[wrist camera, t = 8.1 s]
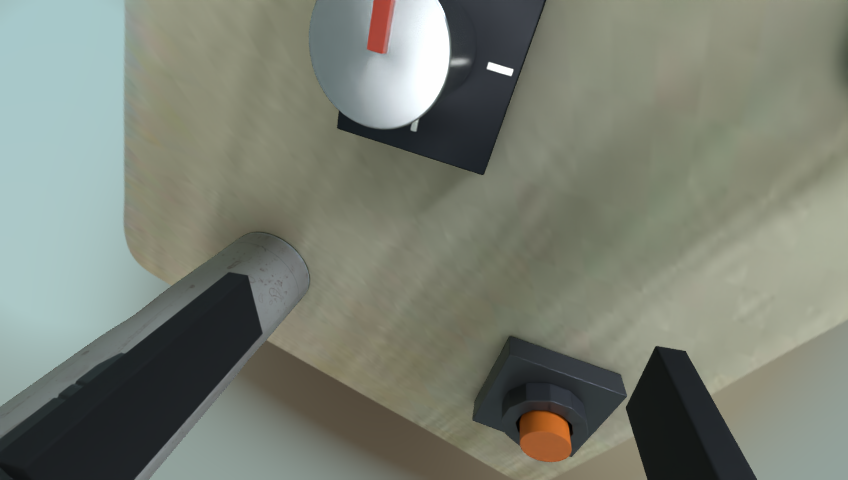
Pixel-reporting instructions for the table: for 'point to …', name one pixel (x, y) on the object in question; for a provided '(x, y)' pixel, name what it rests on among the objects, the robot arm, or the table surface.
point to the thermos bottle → (250, 255)
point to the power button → (545, 436)
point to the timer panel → (471, 91)
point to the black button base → (546, 391)
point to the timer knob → (390, 56)
